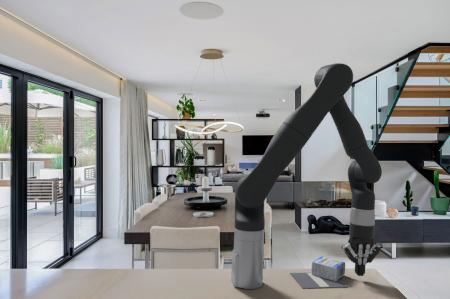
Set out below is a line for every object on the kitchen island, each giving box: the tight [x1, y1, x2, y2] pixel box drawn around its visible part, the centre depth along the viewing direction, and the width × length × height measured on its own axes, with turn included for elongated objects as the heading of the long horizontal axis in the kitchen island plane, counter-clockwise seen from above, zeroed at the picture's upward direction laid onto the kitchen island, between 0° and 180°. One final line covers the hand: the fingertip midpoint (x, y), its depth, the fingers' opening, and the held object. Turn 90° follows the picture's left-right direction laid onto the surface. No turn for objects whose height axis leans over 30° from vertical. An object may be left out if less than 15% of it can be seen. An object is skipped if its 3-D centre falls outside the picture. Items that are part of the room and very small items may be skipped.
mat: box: [289, 272, 349, 290], centre depth 113 cm, size 14×12×1 cm
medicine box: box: [311, 256, 346, 281], centre depth 117 cm, size 8×4×9 cm
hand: (359, 275), depth 113 cm, fingers closed
